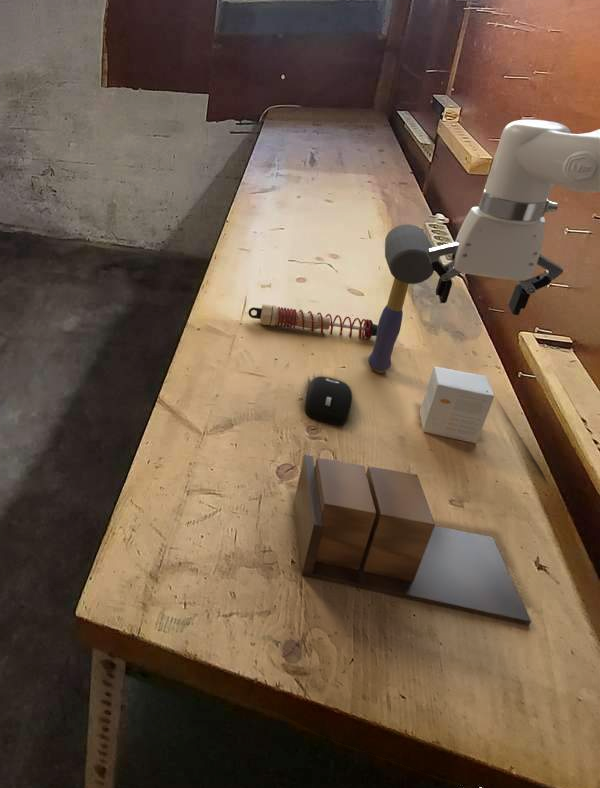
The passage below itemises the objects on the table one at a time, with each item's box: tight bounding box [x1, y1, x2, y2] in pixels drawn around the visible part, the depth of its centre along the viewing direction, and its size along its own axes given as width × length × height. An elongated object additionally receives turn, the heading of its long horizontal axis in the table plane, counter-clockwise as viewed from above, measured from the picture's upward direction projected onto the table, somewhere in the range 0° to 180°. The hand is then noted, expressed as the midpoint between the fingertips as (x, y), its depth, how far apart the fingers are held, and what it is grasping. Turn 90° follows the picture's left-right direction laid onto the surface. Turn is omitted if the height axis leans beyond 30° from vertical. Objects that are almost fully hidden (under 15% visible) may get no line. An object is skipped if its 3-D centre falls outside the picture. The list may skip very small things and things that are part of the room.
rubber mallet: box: [367, 224, 435, 374], centre depth 106 cm, size 12×8×30 cm, turn 156°
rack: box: [293, 454, 532, 626], centre depth 74 cm, size 26×12×12 cm, turn 74°
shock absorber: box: [248, 303, 378, 340], centre depth 125 cm, size 5×5×30 cm
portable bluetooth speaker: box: [304, 376, 353, 426], centre depth 104 cm, size 8×12×4 cm, turn 150°
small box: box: [419, 366, 495, 444], centre depth 96 cm, size 8×6×10 cm
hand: (476, 304), depth 90 cm, fingers open, 9 cm apart
